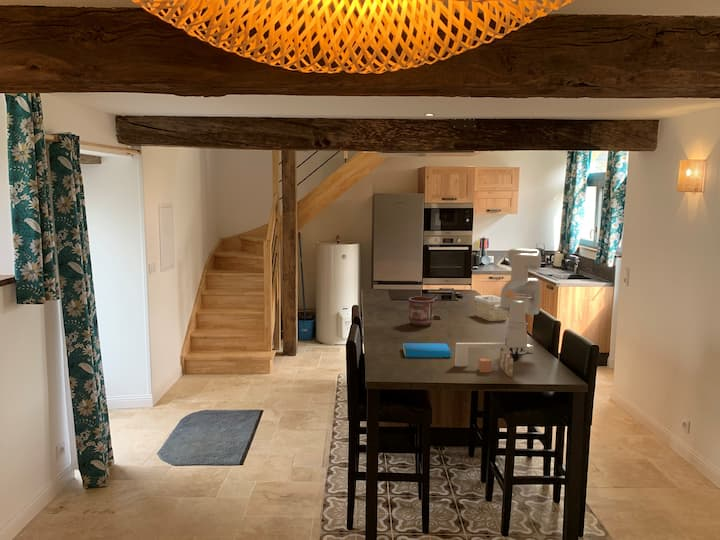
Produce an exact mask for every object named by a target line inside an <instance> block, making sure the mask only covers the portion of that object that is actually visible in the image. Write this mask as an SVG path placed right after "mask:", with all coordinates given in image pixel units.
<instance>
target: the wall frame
mask: <svg viewBox="0 0 720 540" xmlns="http://www.w3.org/2000/svg"><path fill="white" fill-rule="evenodd" d="M505 346H506V345H505V342H455V354H454V355H455V357H454V358H455V359H454V366H455V367H468V366H469V348H472V349H473V348H475V349H476V348H479V349H480V348H481V349H482V348H483V349H484V348H489V349H490V348H491V349H493V348H498V349H501V348H503V349H504V350H505V351H506V352H507V353H508V354H509V355H510V356H511V353H510V350H506V349H505Z"/></svg>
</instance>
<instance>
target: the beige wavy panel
mask: <svg viewBox="0 0 720 540" xmlns="http://www.w3.org/2000/svg"><path fill="white" fill-rule="evenodd" d="M499 350H500V351H499V353H500V355H499V368H501V370H503V372H504V373H505V374H506V375H507V376H508V377H513V372H514V371H513V370H514V369H513V368H514V367H513V365H514V361H513V358H512V355H511V354H510V355H509V354H508V353H507V352H506V351H505V350H504V349H503V348H499Z"/></svg>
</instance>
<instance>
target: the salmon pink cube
mask: <svg viewBox="0 0 720 540" xmlns="http://www.w3.org/2000/svg"><path fill="white" fill-rule="evenodd" d="M477 361H478V363H477V370H478V369H479V370H480V371H479V370H478V371H479V372H480V373H481V372H491V373H492V360H491V359H490V358H489V357H478V360H477Z"/></svg>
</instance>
